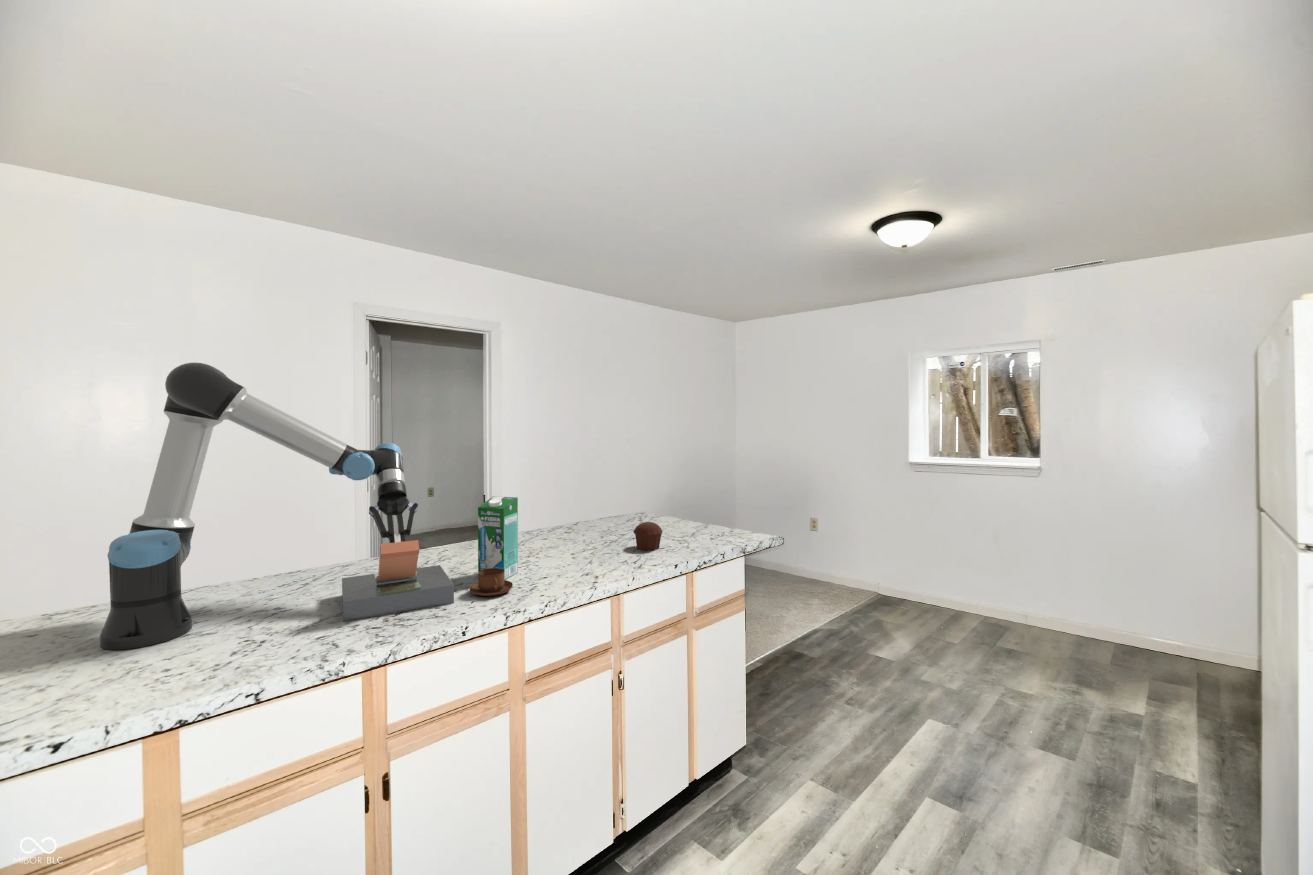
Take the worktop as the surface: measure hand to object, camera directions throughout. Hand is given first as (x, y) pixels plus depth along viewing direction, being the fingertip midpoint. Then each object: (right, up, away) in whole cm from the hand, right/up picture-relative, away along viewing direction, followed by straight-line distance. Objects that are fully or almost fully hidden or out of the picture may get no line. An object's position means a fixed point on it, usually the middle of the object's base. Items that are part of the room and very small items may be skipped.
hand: (398, 556), depth 142 cm
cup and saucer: (+22, -13, +10) cm, 28 cm away
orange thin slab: (-2, -6, +3) cm, 8 cm away
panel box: (-2, -13, +4) cm, 13 cm away
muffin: (+67, -11, +63) cm, 93 cm away
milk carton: (+19, -12, +26) cm, 34 cm away
